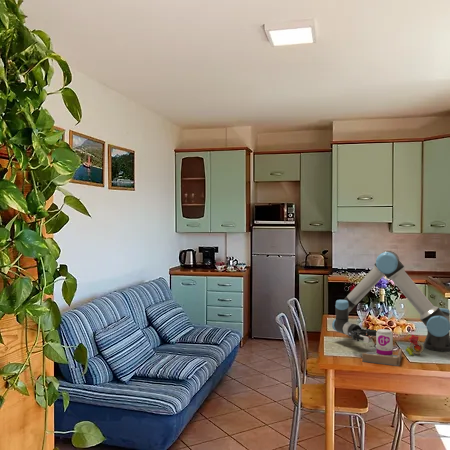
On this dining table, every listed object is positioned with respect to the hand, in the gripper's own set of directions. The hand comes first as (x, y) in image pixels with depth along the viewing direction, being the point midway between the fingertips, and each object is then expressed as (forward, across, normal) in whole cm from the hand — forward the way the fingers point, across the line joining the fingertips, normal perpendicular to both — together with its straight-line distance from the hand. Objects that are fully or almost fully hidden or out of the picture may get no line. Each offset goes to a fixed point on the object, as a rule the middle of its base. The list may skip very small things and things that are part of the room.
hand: (378, 339), depth 240 cm
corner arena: (+2, 0, -10) cm, 10 cm away
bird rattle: (+4, -22, -10) cm, 24 cm away
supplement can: (+4, 0, -10) cm, 11 cm away
